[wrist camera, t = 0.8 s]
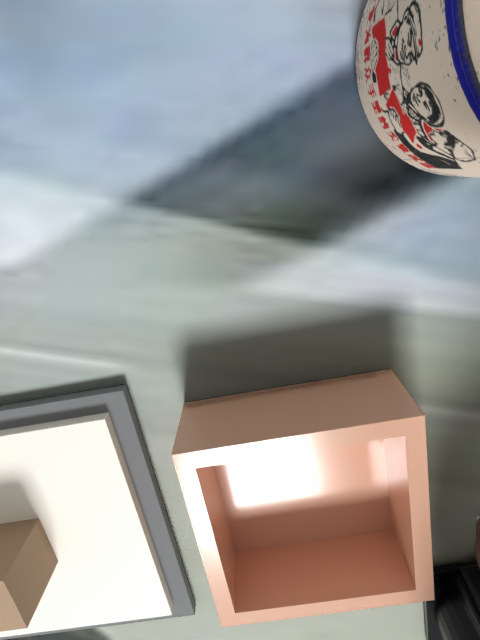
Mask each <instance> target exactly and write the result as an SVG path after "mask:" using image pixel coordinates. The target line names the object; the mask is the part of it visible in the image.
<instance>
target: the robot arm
mask: <svg viewBox="0 0 480 640" xmlns="http://www.w3.org/2000/svg"><path fill="white" fill-rule="evenodd" d="M475 554H476V559H477V561H476V562H469V563H461V564H454V565H446V566H439V567H433V579H434V598H435V600H431V601H424V613H425V629H426V640H480V515H479V516H478V517H477V521H476V543H475Z"/></svg>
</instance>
